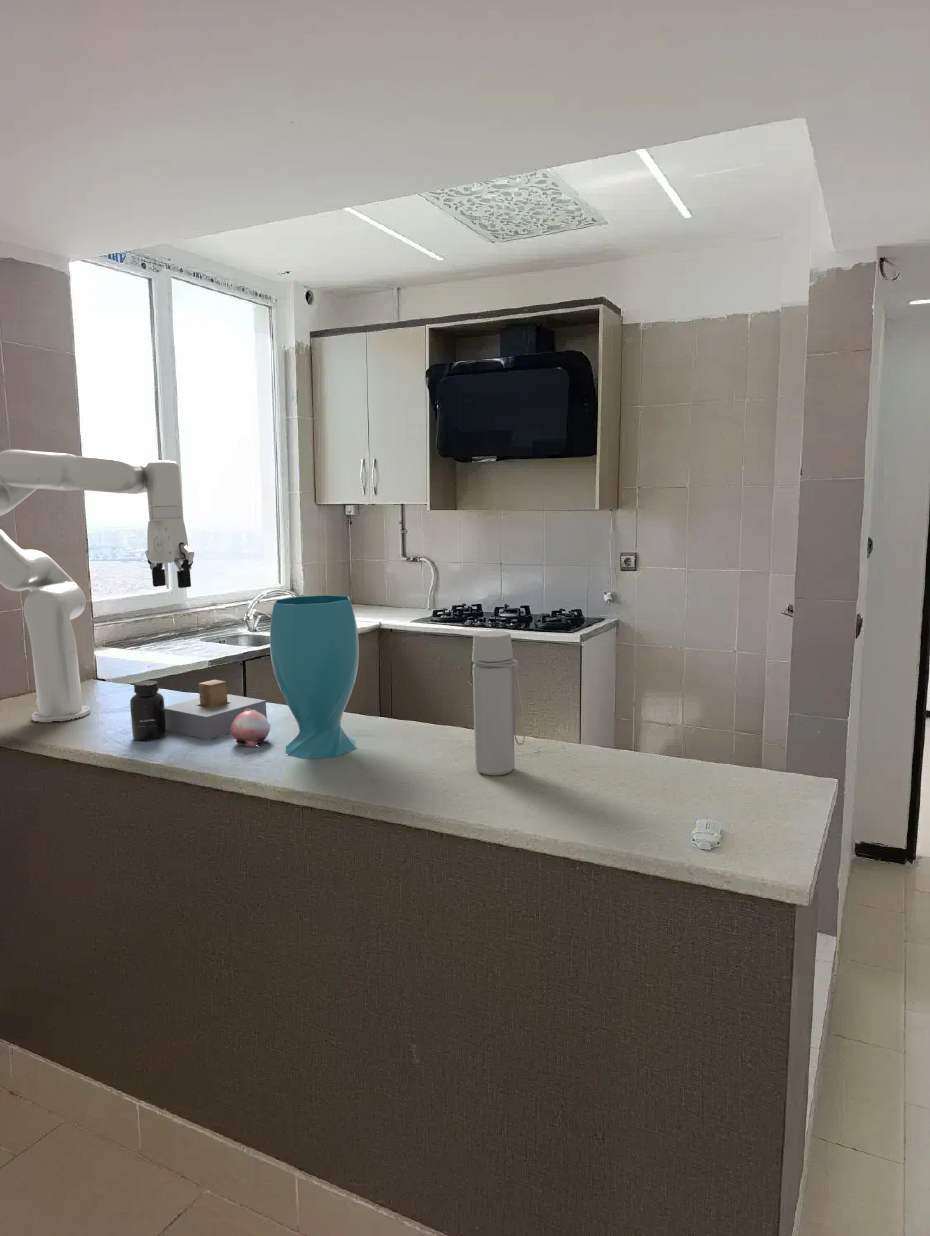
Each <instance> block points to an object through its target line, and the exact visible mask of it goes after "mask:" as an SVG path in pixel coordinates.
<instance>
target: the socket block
mask: <svg viewBox="0 0 930 1236" xmlns="http://www.w3.org/2000/svg"><path fill="white" fill-rule="evenodd" d="M227 701H228V704H226V705H222V706H219V707H215V708H207V707H201V706H200V697H198V698H195V699H190V700H187V701H183V702H179V703H175V704H170V705H167V706H165V721H166V732H167V731H168V732H171V731H172V732H171V733H176V734H180V735H186V736H190V737H193V738H194V737H195V738H198V739H202V740H208V741H210V740H213V739H216V738H220V737H222V736H226V735H229V734H230V735H231V732H230V728H231V725H232V723H233V721H234V719H235V718H236V716H237V715H239V714H240V713H242V712H244V711H245V710H246V709H251V710H256V711H257V712H259V713H261V714H263V715H264V716H265V717H266V719H267V720H268V717H267V716H268V715H267V713H268V712H267V701H266V700H265V699H260V698H252V697H248V696H247V697H246V696H241V695H237V694H235V695H234V694H228V693H227Z"/></svg>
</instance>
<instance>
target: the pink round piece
mask: <svg viewBox="0 0 930 1236" xmlns="http://www.w3.org/2000/svg"><path fill="white" fill-rule="evenodd" d="M270 731H271V728H270V723H269V720H268V718H267V719H266V717H265V716H264V715H263V714H261V713H259V712H257V711H256V710H251V709H246V710H245V711H244V712H242V713H240V714H239V715H237V716H236V718H235V719H234V721H233V723H232V725H231V728H230V732H231V733H230V735H231V737H232V738H233V739H234V740H235V743H236V744H237V745H239V746H240V745H241V746H246V747H250V748H257V747H256V745H258V743H262V744H261V746H262V745H264V744H263V743H265V744H266V742H269V741H270V740H267V741H265V740H266V738H268V736H269V734H270ZM263 741H264V742H263Z"/></svg>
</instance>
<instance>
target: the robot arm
mask: <svg viewBox="0 0 930 1236" xmlns="http://www.w3.org/2000/svg"><path fill="white" fill-rule="evenodd" d="M38 489H39V490H40V489H41V490H42V489H43V490H53V491H67V492H73V491H90V492H100V493H101V492H104V493H115V494H128V495H135V494H136V495H137V494H143V493H146V494H147V506H148V507H147V508H148V519H149V520H148V523H147V531H146V532H147V533H146V537H147V540H146V541H147V542H146V543H147V546H146V547H147V549H146V551H145V552H144V553H145V556H146V559H147V562H148V564H149V570H151V576H152V577H151V578H152V586H153V587H164V586H165V587H166V585H167V579H166V570H165V568H164V566H165V564H172V563H174V564H175V566H176V568H177V571H176V577H177V579H176V580H177V587H178V588H179V589H183V588H184V589H185V588H190V587H192V582H191V581H192V579H191V570H192V565H193V563H194V557H195V551H193V550H192V549H191V548H190V547H189V542H188V541H189V540H188V536H187V535H188V534H187V530H186V526H185V520H184V511H183V510H184V509H183V499H182V485H181V473H180V467H179V464H178V463H177V462H176V461H173V460H172V461H171V460H153V461H148V462H138V461H132V460H126V459H116V458H115V459H114V458H106V457H105V458H104V457H103V458H102V457H90V456H80V455H75V454H72V453H65V452H64V453H61V452H49V451H37V450H25V449H24V450H23V449H7V450H6V449H5V450H2V451H0V517H1V516H4V515H5V514H8V513H10V511H12V510H13V509H15V507H17V506H18V505H19V504H20V503H22V502H23V501H24V500H26V499H27V498H28V497H29V496H30V495H32V494H33V493H35V491H36V490H38ZM0 585H1V586H2V587H4V588H5V589H6V590H8V591H12V592H22V591H26V590H28V591H29V594H28V595H27V596H26V598H25V601H24V604H23V615H24V619H25V622H26V625H27V630H28V633H29V639H30V640H29V641H30V646H31V654H32V664H33V672H34V682H35V691H36V692H35V693H36V700H34V703H35V704H36V706H37V709H38V710H37V711H35V712H33V713H32V714H31V721H33V722H36V721H41V722H40V723H53V722H52V721H60V722H66V720H67V721H71V719H72V720H76V719H75V718H77V719H79V717H80V718H82V717H85V716H87V715H89V714H90V713H91V708H90V707H89V706H88V705H83V697H82V688H81V676H80V667H79V657H78V647H77V641H76V635H75V631H74V629H73V624H72V622H71V620H74V619H76V618H78V617H79V616H80V615H82V613H83V612H84V611H85V609H86V606H87V599H86V595H85V593H84V591H83V589H81V587H80V586H79V584H77V582H75V581H74V579H73V578H72V577H71V576H70V575H69V574H68V573H67V572H66V571H65V570H63V568H62V567H61V566H60V565H59V564H58V563H57V562H56V561H55V560H54V559H53V558H52V557H50V556H49V555H48V554H46V553H44V552H43V551H40V550H37V549H31V548H30V549H28V548H27V549H22V548H21V547H20V546H19V545H18V544H16V543H15V542H14V541H13V540H12V539H11V538H10V537H9V535H8V534H7V533H6V532H4V531H3V529H1V528H0Z"/></svg>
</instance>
